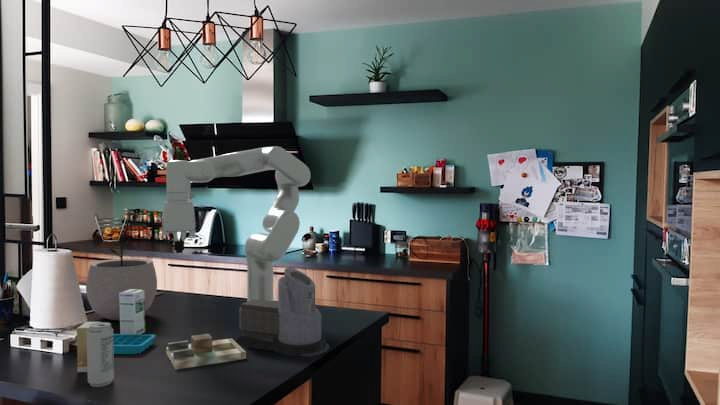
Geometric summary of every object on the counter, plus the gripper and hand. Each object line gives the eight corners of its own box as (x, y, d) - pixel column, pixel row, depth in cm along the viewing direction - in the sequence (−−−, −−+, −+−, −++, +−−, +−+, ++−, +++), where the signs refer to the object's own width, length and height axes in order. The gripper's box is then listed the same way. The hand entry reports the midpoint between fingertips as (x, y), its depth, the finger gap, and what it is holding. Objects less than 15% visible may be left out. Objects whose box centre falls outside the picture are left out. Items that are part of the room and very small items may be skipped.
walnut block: (208, 346, 162) (208, 333, 162) (212, 351, 158) (212, 338, 158) (191, 349, 160) (191, 335, 160) (194, 354, 156) (194, 340, 156)
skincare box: (86, 364, 152) (85, 321, 152) (102, 364, 153) (102, 321, 152) (76, 373, 146) (75, 327, 145) (93, 372, 146) (92, 327, 146)
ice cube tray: (141, 356, 161) (141, 345, 161) (73, 355, 162) (73, 345, 161) (157, 344, 173) (157, 334, 173) (93, 343, 173) (93, 333, 173)
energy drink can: (100, 377, 143) (99, 320, 142) (119, 380, 141) (118, 322, 140) (82, 386, 137) (81, 326, 136) (101, 389, 135) (101, 328, 134)
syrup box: (135, 337, 179) (135, 292, 178) (119, 335, 180) (118, 292, 179) (145, 332, 184) (145, 289, 184) (130, 331, 186) (129, 288, 185)
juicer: (337, 344, 173) (338, 267, 172) (315, 359, 158) (315, 275, 157) (256, 333, 184) (256, 261, 183) (227, 347, 169) (227, 268, 168)
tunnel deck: (231, 344, 171) (231, 331, 171) (245, 358, 158) (245, 345, 158) (166, 353, 162) (166, 340, 162) (175, 369, 149) (175, 355, 149)
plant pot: (79, 316, 204) (78, 236, 203) (145, 307, 219) (145, 232, 217) (95, 331, 185) (94, 242, 184) (166, 320, 200) (165, 238, 199)
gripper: (199, 197, 188) (199, 250, 189) (153, 197, 181) (153, 252, 182) (204, 197, 182) (204, 252, 183) (156, 198, 175) (157, 255, 176)
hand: (179, 252), depth 182 cm, fingers closed
